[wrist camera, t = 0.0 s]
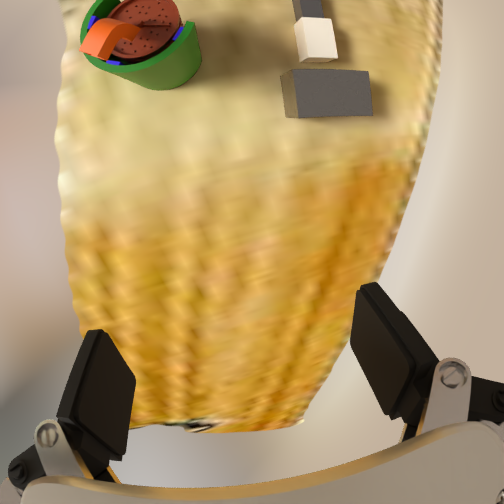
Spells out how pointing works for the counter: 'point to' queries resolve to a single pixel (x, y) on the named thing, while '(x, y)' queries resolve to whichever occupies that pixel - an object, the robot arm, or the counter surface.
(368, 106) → the housing
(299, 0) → the plug
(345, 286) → the counter surface
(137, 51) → the motor
